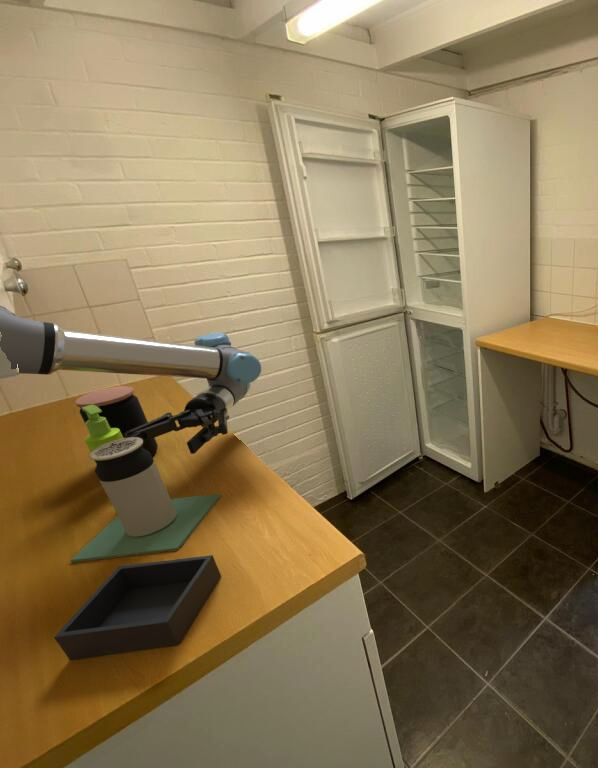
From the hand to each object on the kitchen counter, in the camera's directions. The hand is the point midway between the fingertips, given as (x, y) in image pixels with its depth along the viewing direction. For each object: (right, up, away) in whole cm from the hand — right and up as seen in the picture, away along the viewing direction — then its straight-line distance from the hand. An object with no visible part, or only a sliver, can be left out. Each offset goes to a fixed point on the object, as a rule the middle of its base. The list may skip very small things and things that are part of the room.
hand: (155, 451), depth 86 cm
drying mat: (+1, -15, -2) cm, 15 cm away
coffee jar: (-24, -5, +22) cm, 33 cm away
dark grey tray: (+17, -22, -20) cm, 35 cm away
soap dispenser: (-17, -10, +12) cm, 23 cm away
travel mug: (+1, -14, -2) cm, 15 cm away
